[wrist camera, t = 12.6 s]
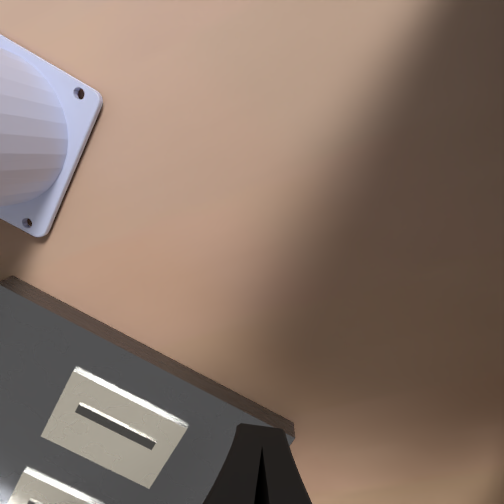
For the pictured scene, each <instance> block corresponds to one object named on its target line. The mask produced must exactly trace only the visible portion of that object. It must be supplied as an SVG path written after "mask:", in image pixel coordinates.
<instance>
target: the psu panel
mask: <svg viewBox="0 0 504 504" xmlns="http://www.w3.org/2000/svg"><path fill="white" fill-rule="evenodd" d="M240 423H244V424H252V425H259V426H266V427H274V428H281V429H283V430H284V432H285V433H286V437H287V441H288V444H289V446H290V444H291V443H292V442H293V440H294V439H295V432H294V423H293V422H291V421H289V420H287V419H285V418H283V417H281V416H279V415H278V414H276V413H274V412H272V411H270V410H268V409H266V408H264V407H262V406H260V405H258V404H257V403H255V402H253V401H251V400H249V399H247V398H245V397H243V396H241V395H239V394H237V393H236V392H234V391H232V390H230V389H228V388H226V387H224V386H222V385H220V384H218V383H216V382H215V381H213V380H211V379H209V378H207V377H205V376H203V375H201V374H199V373H197V372H195V371H194V370H192V369H190V368H188V367H186V366H184V365H182V364H180V363H178V362H176V361H174V360H173V359H171V358H169V357H167V356H165V355H163V354H161V353H159V352H157V351H155V350H153V349H152V348H150V347H148V346H146V345H144V344H142V343H140V342H138V341H136V340H134V339H132V338H131V337H129V336H127V335H125V334H123V333H121V332H119V331H117V330H115V329H113V328H111V327H110V326H108V325H106V324H104V323H102V322H100V321H98V320H96V319H94V318H92V317H90V316H89V315H87V314H85V313H83V312H81V311H79V310H77V309H75V308H73V307H71V306H69V305H67V304H66V303H64V302H62V301H60V300H58V299H56V298H54V297H52V296H50V295H48V294H46V293H45V292H43V291H41V290H39V289H37V288H35V287H33V286H31V285H29V284H27V283H25V282H24V281H22V280H20V279H18V278H16V277H14V276H10V277H8V278H6V279H4V280H2V281H0V504H203V502H204V500H205V498H206V497H207V495H208V493H209V491H210V490H211V488H212V486H213V484H214V482H215V480H216V478H217V476H218V474H219V472H220V470H221V468H222V466H223V464H224V462H225V460H226V457H227V455H228V453H229V450H230V448H231V445H232V442H233V439H234V436H235V432H236V427H237V425H239V424H240Z"/></svg>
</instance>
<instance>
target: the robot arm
mask: <svg viewBox="0 0 504 504" xmlns="http://www.w3.org/2000/svg"><path fill="white" fill-rule="evenodd" d="M80 89H83V90H84V93H85V95H84V98H83V99H81V100H80V99H79V97H78V91H79V90H80ZM102 104H103V99H102V96H101V94H100V93H99V92H98V91H97V90H95V89H93V88H92V87H90V86H88V85H87V84H85V83H83V82H81V81H80V80H78V79H76V78H75V77H73V76H71V75H69V74H68V73H66V72H64V71H63V70H61V69H59V68H57V67H56V66H54V65H52V64H51V63H49V62H47V61H46V60H44V59H42V58H40V57H39V56H37V55H35V54H34V53H32V52H30V51H28V50H27V49H25V48H23V47H22V46H20V45H18V44H16V43H15V42H13V41H11V40H10V39H8V38H6V37H4V36H3V35H1V34H0V218H1V219H2V220H4V221H6V222H8V223H10V224H12V225H14V226H15V227H17V228H19V229H21V230H23V231H25V232H27V233H28V234H30V235H32V236H35V237H42V236H45V235H47V234H48V232H49V231H50V228H51V226H52V223H53V221H54V219H55V216H56V214H57V212H58V209H59V207H60V204H61V202H62V200H63V197H64V195H65V193H66V190H67V188H68V185H69V183H70V181H71V178H72V176H73V174H74V171H75V169H76V166H77V164H78V162H79V159H80V157H81V155H82V152H83V150H84V147H85V145H86V143H87V140H88V138H89V136H90V133H91V131H92V128H93V126H94V124H95V121H96V119H97V117H98V114H99V112H100V109H101V107H102ZM28 218H29V219H30V220H31V222H32V226H29V225H28V223H27V219H28ZM203 504H312V502H311V500H310V498H309V495H308V493H307V491H306V489H305V486H304V484H303V482H302V479H301V477H300V474H299V472H298V469H297V467H296V464H295V461H294V459H293V456H292V453H291V450H290V447H289V444H288V441H287V437H286V433H285V432H284V430H283V429H281V428H274V427H266V426H259V425H252V424H244V423H240V424H239V425H237V427H236V432H235V436H234V439H233V442H232V445H231V448H230V450H229V453H228V455H227V457H226V460H225V462H224V464H223V466H222V468H221V470H220V472H219V474H218V476H217V478H216V480H215V482H214V484H213V486H212V488H211V490H210V491H209V493H208V495H207V497H206V498H205V500H204V502H203Z"/></svg>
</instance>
